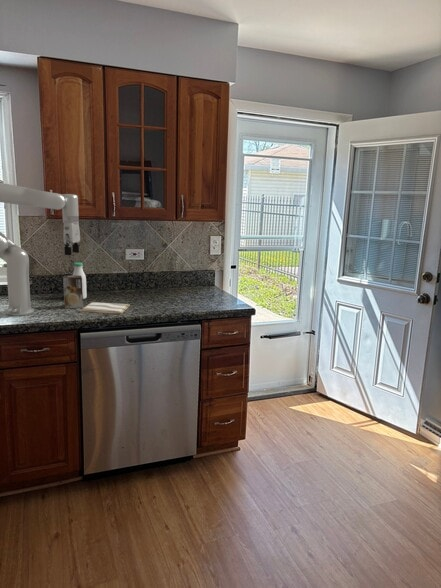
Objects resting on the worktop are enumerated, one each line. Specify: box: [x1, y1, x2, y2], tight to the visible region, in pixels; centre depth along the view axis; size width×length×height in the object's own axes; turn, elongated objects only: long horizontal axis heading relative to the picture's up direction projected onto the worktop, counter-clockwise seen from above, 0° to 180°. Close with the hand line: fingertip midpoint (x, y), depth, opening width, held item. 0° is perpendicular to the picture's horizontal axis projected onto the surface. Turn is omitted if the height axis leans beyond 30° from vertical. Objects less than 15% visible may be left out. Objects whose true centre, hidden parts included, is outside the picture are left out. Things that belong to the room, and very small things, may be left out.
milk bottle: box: [71, 262, 87, 300], centre depth 235 cm, size 8×8×20 cm
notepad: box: [79, 301, 131, 315], centre depth 219 cm, size 17×21×1 cm
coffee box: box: [62, 275, 84, 309], centre depth 218 cm, size 9×6×16 cm
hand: (72, 253), depth 213 cm, fingers open, 9 cm apart
